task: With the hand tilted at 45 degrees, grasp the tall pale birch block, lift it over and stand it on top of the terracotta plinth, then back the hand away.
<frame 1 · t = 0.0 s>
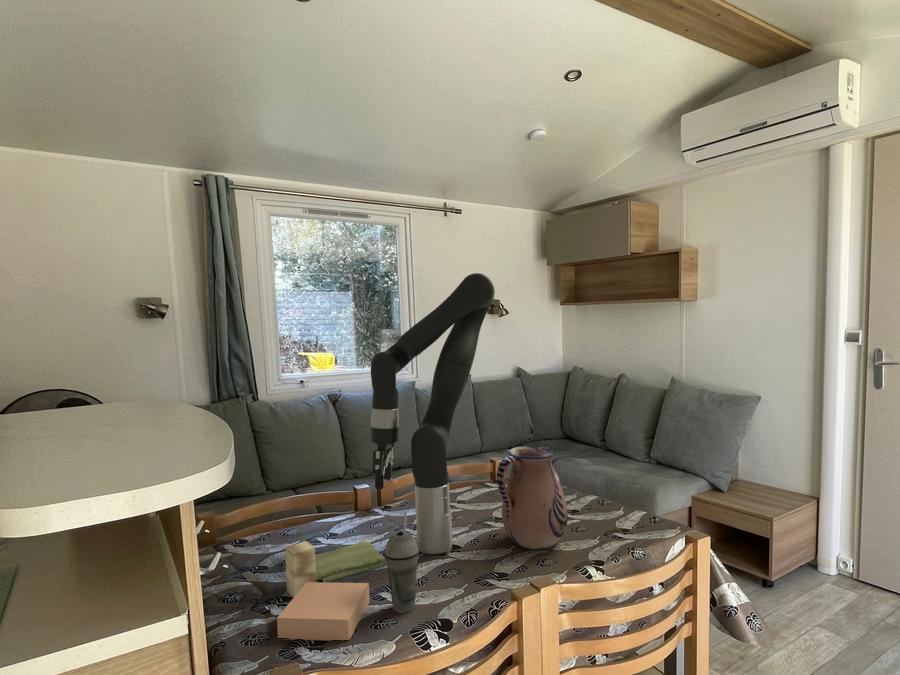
hand: (383, 484, 135), 17 cm above the table, tool pointing down, fingers open, 8 cm apart
birch block: (301, 591, 113), on the table
ceramic pitcher: (531, 545, 133), on the table
washcloth: (345, 568, 125), on the table
beverage cup: (404, 608, 104), on the table
terracotta plinth: (326, 619, 101), on the table
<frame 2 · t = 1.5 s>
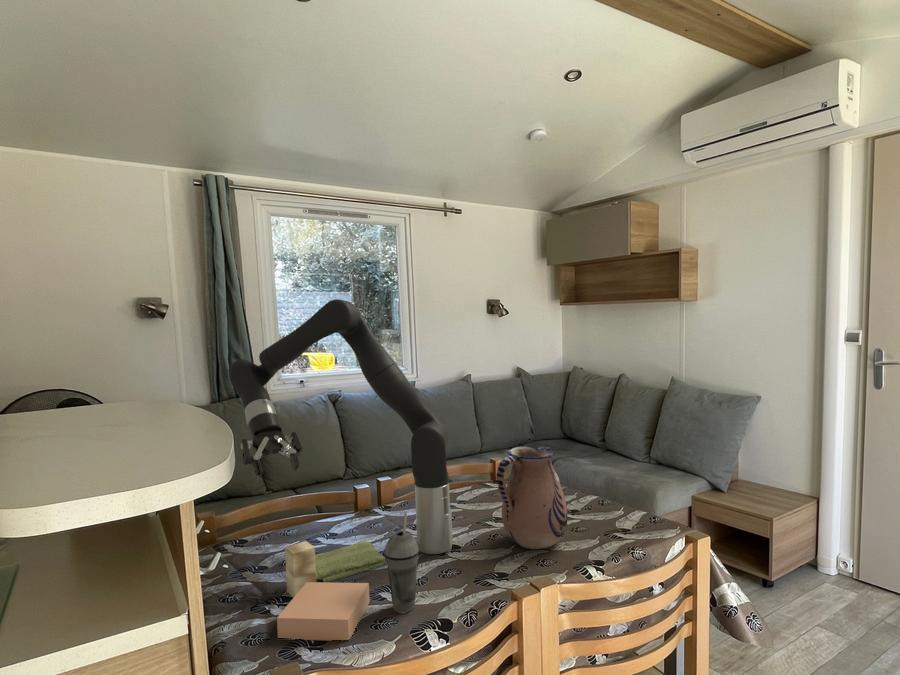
hand: (279, 472, 122), 25 cm above the table, tool tilted 45°, fingers open, 8 cm apart
nothing on the table moved.
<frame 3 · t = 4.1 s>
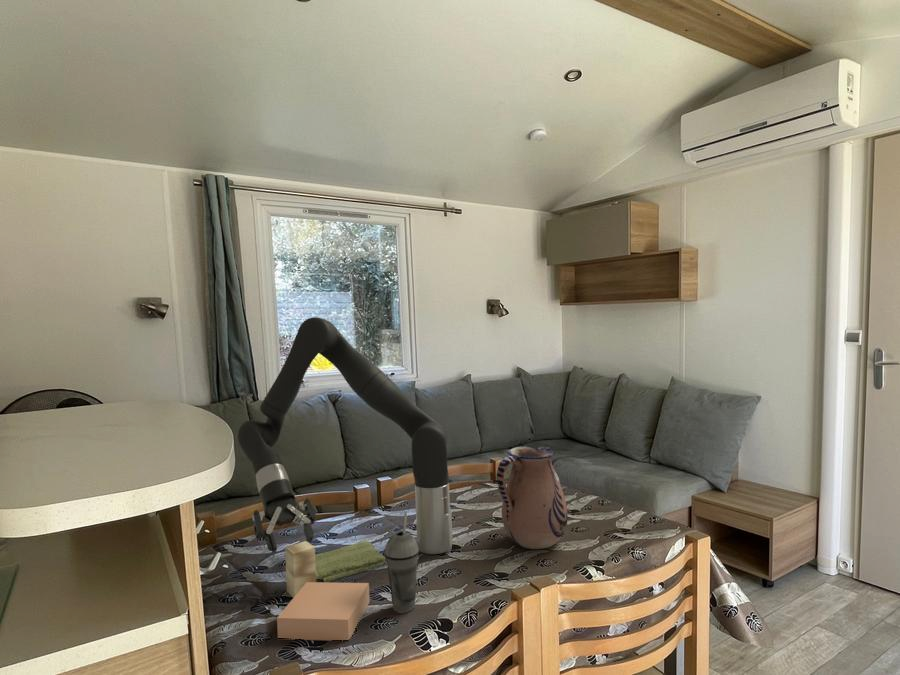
hand: (293, 545, 117), 9 cm above the table, tool tilted 45°, fingers open, 8 cm apart
nothing on the table moved.
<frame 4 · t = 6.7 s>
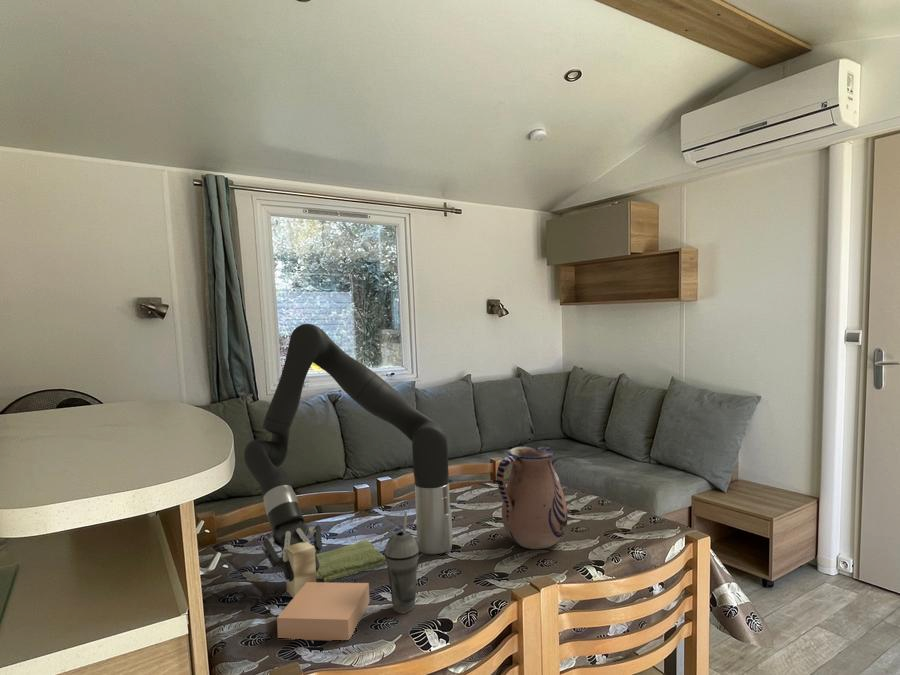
hand: (304, 575, 112), 4 cm above the table, tool tilted 45°, fingers closed on birch block, 5 cm apart
birch block: (301, 591, 113), on the table, touching gripper
everything else where it was.
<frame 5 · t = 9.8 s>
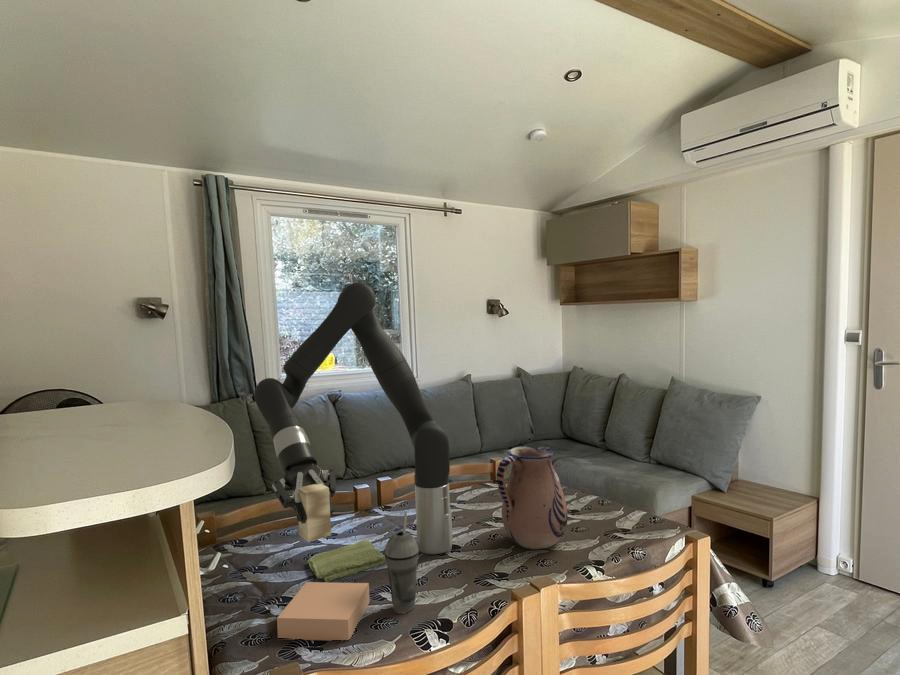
hand: (317, 517, 103), 20 cm above the table, tool tilted 45°, fingers closed on birch block, 5 cm apart
birch block: (315, 535, 105), point 16 cm above the table, touching gripper
everything else where it was.
when the fingers open (10 cm above the table, at t = 13.2 s): birch block drops 1 cm, resting on terracotta plinth.
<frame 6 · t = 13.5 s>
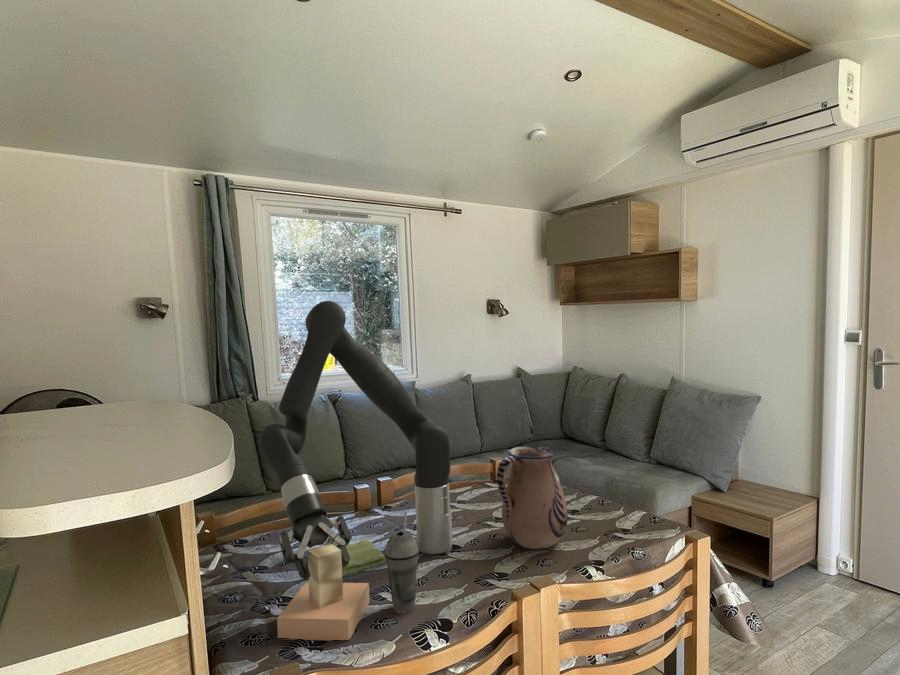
hand: (327, 571, 100), 10 cm above the table, tool tilted 45°, fingers open, 8 cm apart
birch block: (326, 599, 101), point 4 cm above the table, touching terracotta plinth
everything else where it was.
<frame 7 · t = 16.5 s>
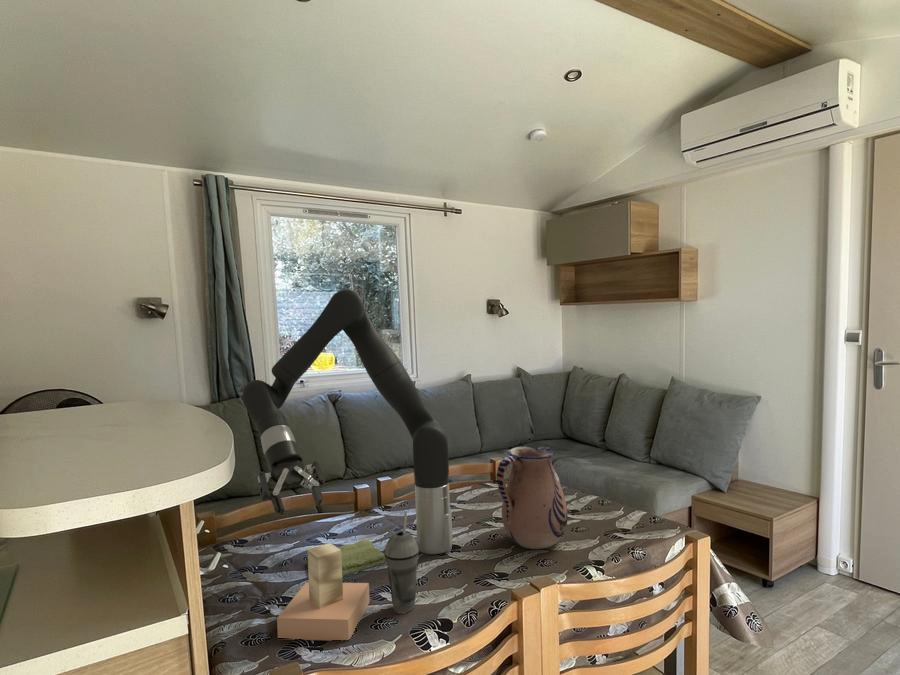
hand: (301, 508, 110), 20 cm above the table, tool tilted 45°, fingers open, 8 cm apart
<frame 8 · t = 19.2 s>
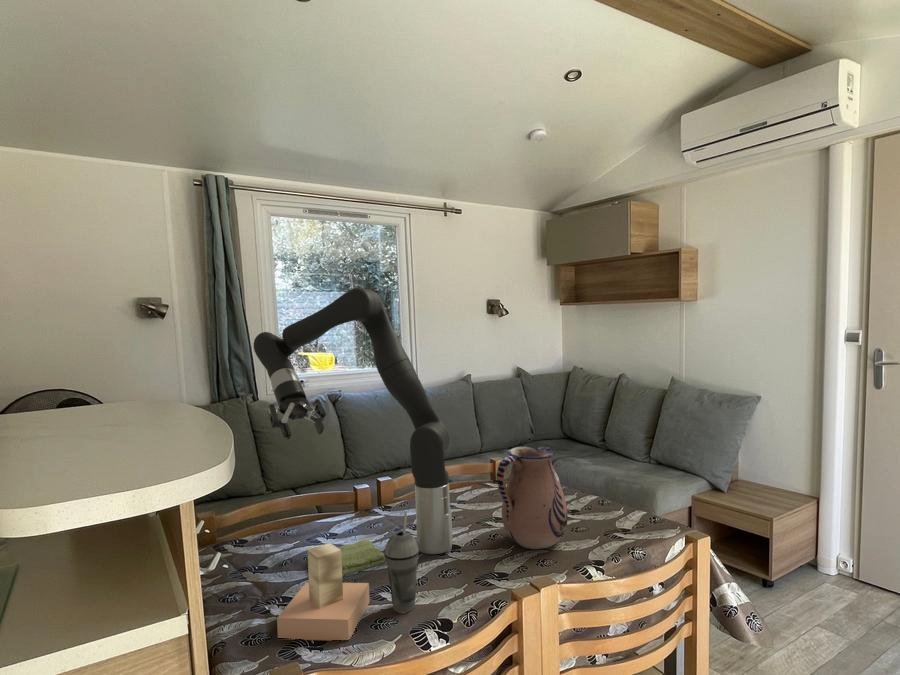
hand: (305, 434, 129), 33 cm above the table, tool tilted 45°, fingers open, 8 cm apart
at the end: birch block inside the target area on the terracotta plinth (0.1 cm from its centre), point 4.0 cm above the terracotta plinth's base; birch block tilted 0°; the gripper is holding nothing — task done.
